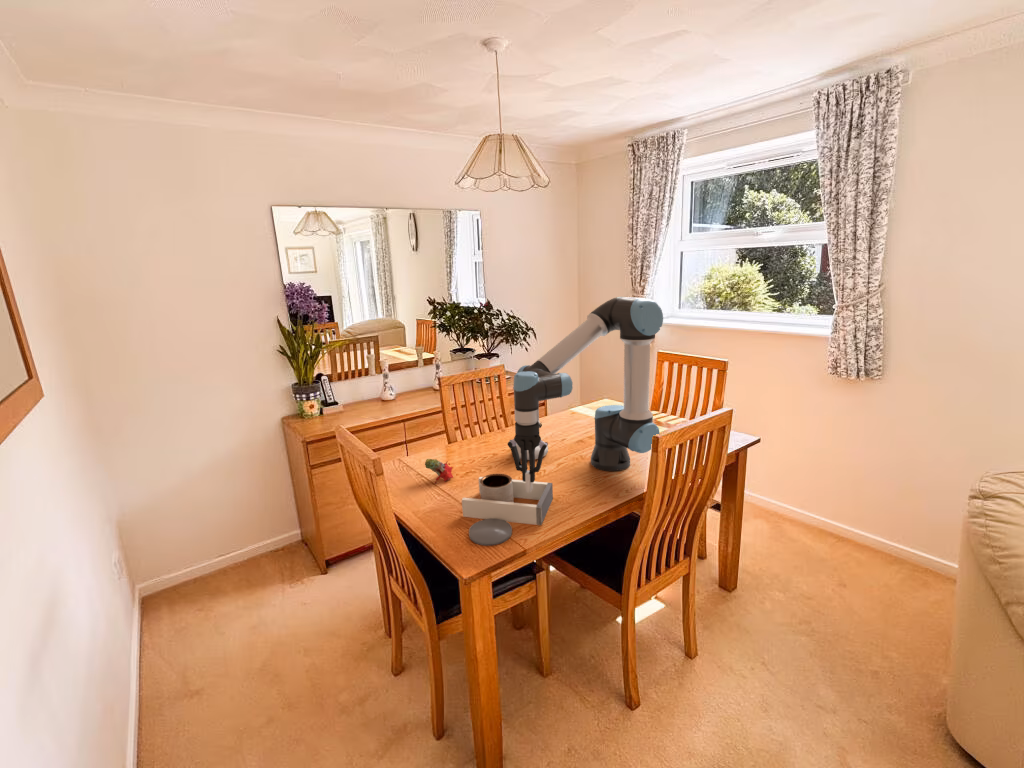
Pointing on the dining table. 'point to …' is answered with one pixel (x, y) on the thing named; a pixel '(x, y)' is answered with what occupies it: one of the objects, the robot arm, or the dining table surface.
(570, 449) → the dining table surface
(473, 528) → the trivet
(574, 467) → the dining table surface
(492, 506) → the u-shaped bracket
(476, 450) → the dining table surface
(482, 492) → the planter
